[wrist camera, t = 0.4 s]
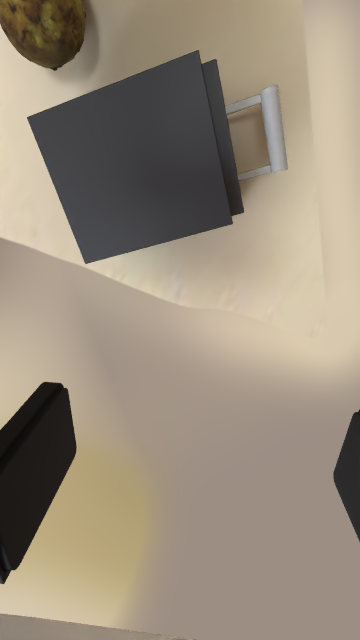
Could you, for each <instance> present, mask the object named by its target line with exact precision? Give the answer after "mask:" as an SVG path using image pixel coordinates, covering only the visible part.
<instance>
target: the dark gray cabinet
mask: <svg viewBox="0 0 360 640" xmlns="http://www.w3.org/2000/svg"><path fill="white" fill-rule="evenodd" d="M27 119H28V121H29V124H30V126H31V129H32V131H33V134H34V136H35V139H36V141H37V144H38V146H39V149H40V151H41V154H42V156H43V159H44V161H45V164H46V166H47V169H48V171H49V174H50V176H51V179H52V181H53V184H54V186H55V189H56V191H57V194H58V196H59V199H60V201H61V204H62V206H63V209H64V211H65V214H66V216H67V219H68V221H69V224H70V226H71V229H72V232H73V234H74V237H75V239H76V242H77V244H78V247H79V249H80V252H81V254H82V257H83V259H84V262H85V264H87V263H91V262H95V261H98V260H102V259H106V258H109V257H113V256H117V255H120V254H124V253H128V252H131V251H135V250H139V249H142V248H146V247H150V246H154V245H157V244H161V243H165V242H168V241H172V240H176V239H179V238H183V237H187V236H190V235H194V234H198V233H201V232H205V231H209V230H212V229H216V228H220V227H223V226H227V225H231V224H233V221H232V216H231V211H230V206H229V201H228V196H227V191H226V185H225V180H224V175H223V170H222V165H221V160H220V155H219V150H218V145H217V140H216V135H215V130H214V125H213V120H212V115H211V110H210V104H209V99H208V94H207V89H206V84H205V79H204V74H203V69H202V64H201V59H200V54H199V50H197V51H194V52H192V53H189V54H187V55H184V56H182V57H179V58H177V59H174V60H172V61H169V62H166V63H164V64H161V65H159V66H156V67H154V68H151V69H149V70H146V71H144V72H141V73H138V74H136V75H133V76H131V77H128V78H126V79H123V80H121V81H118V82H116V83H113V84H110V85H108V86H105V87H103V88H100V89H98V90H95V91H93V92H90V93H88V94H85V95H82V96H80V97H77V98H75V99H72V100H70V101H67V102H65V103H62V104H60V105H57V106H55V107H52V108H49V109H47V110H44V111H42V112H39V113H37V114H34V115H32V116H29V117H27Z"/></svg>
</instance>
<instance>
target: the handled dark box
mask: <svg viewBox="0 0 360 640" xmlns="http://www.w3.org/2000/svg"><path fill="white" fill-rule="evenodd" d="M202 69H203V74H204V79H205V84H206V89H207V94H208V99H209V104H210V110H211V115H212V120H213V125H214V130H215V135H216V140H217V145H218V150H219V155H220V160H221V165H222V170H223V175H224V180H225V185H226V191H227V196H228V201H229V206H230V211H231V216H233V215H237V214H241V213H244V208H243V203H242V197H241V192H240V186H239V181H241V180H244V179H248V178H251V177H254V176H258V175H261V174H264V173H268V172H271V174H273V173H276V172H279V171H283V170H286V169H288V166H287V157H286V149H285V141H284V133H283V124H282V116H281V108H280V100H279V92H278V85H272V86H269V87H267V88H265V89H263V90H261V91H260V94H259V95H256V96H253V97H250V98H247V99H244V100H241V101H239V102H236V103H233V104H230V105H227V106H225V104H224V98H223V92H222V87H221V81H220V76H219V70H218V65H217V60H216V59H214V60H211V61H209V62H206V63H204V64H202ZM260 103H261V107H262V114H263V121H264V128H265V135H266V142H267V149H268V156H269V163H270V165H267V166H263V167H260V168H257V169H253V170H250V171H247V172H244V173H240V174H237V170H236V164H235V159H234V153H233V148H232V142H231V137H230V131H229V126H228V120H227V115H229V114H232V113H235V112H238V111H241V110H244V109H247V108H249V107H252V106H255V105H258V104H260Z"/></svg>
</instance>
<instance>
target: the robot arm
mask: <svg viewBox="0 0 360 640" xmlns="http://www.w3.org/2000/svg"><path fill="white" fill-rule="evenodd" d="M75 454H76V440H75V434H74V427H73V421H72V414H71V408H70V401H69V394H68V389H67V388H64V387H63V385H62V384H61V383H52V382H43V383H42V384H41V385H40V386H39V387H38V388H37V389H36V391H35V392H34V393H33V394H32V395H31V396H30V397H29V399H28V400H27V401H26V402H25V403H24V404H23V405H22V406H21V408H20V409H19V410H18V411H17V412H16V413H15V414H14V416H13V417H12V418H11V419H10V420H9V421H8V422H7V424H5V425H4V427H3V428H2V429H1V430H0V583H1V584H4V583H5V581H6V579H7V578H8V576H9V574H10V572H11V570H16V569H17V568H18V566H19V565H20V563H21V561H22V559H23V557H24V555H25V554H26V552H27V550H28V548H29V546H30V544H31V542H32V540H33V538H34V536H35V534H36V532H37V530H38V528H39V526H40V524H41V522H42V520H43V518H44V516H45V514H46V512H47V510H48V508H49V506H50V505H51V503H52V500H53V499H54V497H55V494H56V493H57V491H58V489H59V486H60V485H61V483H62V481H63V479H64V477H65V475H66V473H67V471H68V469H69V467H70V465H71V463H72V461H73V459H74V457H75ZM334 482H335V485H336V487H337V490H338V492H339V494H340V497H341V499H342V502H343V504H344V506H345V509H346V511H347V513H348V515H349V518H350V520H351V522H352V525H353V527H354V529H355V532H356V534H357V536H358V539H359V541H360V410H359V412H355V413H354V414H353V416H352V419H351V422H350V425H349V428H348V431H347V434H346V437H345V440H344V443H343V446H342V449H341V452H340V455H339V458H338V461H337V464H336V467H335V470H334ZM0 640H194V639H187V638H180V637H173V636H166V635H159V634H152V633H145V632H138V631H130V630H123V629H116V628H108V627H101V626H93V625H86V624H79V623H71V622H64V621H57V620H49V619H42V618H35V617H25V616H17V615H8V614H0Z"/></svg>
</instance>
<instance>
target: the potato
mask: <svg viewBox="0 0 360 640" xmlns="http://www.w3.org/2000/svg"><path fill="white" fill-rule="evenodd" d="M85 17H86V14H85V12H84V8H83V4H82V0H0V24H1V26H2V29H3V31H4V32H5V34H6V36H7V37H8V39H9V41H10V42H11V43H12V45H13V47H15V48H16V50H17V51H18V52H19V53H20V54H21V55H22V56H24V57H25V58H27V59H28V60H29V61H32V62H34V63H36V64H38V65H40V66H42V67H45V68H51V69H53V70H54V71H55V70H57V68H58V67H59V68H60V67H62V65H64V64H66V63H67V62H69V61H70V60H72V59H73V58H74V56H75V55H76V54H77V53H78V52H79V51H80V49H81V46H82V43H83V41H84V39H83V38H84V31H85Z"/></svg>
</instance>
